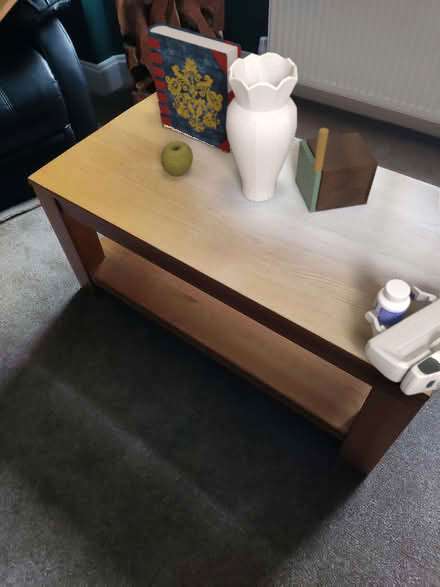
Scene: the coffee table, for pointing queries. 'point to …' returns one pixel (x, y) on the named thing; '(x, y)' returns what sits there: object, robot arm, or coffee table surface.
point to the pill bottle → (392, 302)
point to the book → (193, 81)
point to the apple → (176, 158)
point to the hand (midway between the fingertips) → (389, 300)
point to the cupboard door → (311, 169)
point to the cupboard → (344, 172)
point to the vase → (261, 120)
